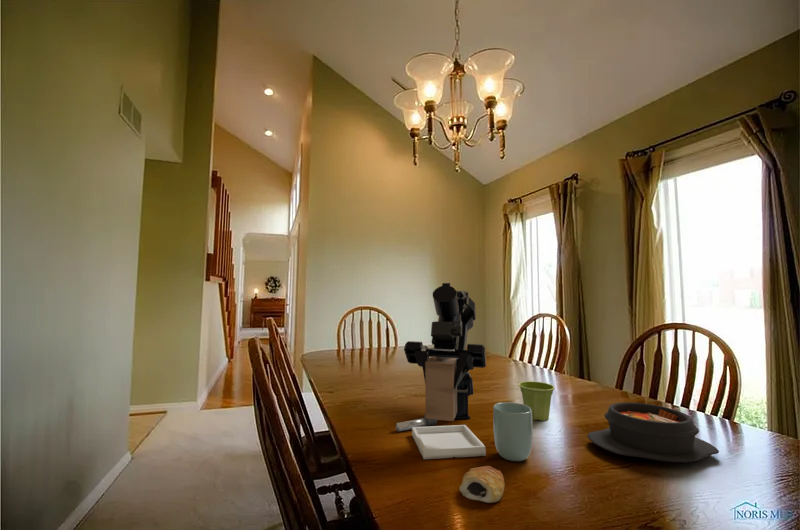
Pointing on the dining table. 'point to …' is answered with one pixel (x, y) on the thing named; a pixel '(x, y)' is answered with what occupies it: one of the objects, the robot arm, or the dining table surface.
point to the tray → (447, 442)
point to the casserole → (651, 434)
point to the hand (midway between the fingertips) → (440, 386)
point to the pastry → (483, 484)
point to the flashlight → (415, 424)
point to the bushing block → (440, 388)
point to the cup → (512, 430)
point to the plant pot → (537, 398)
